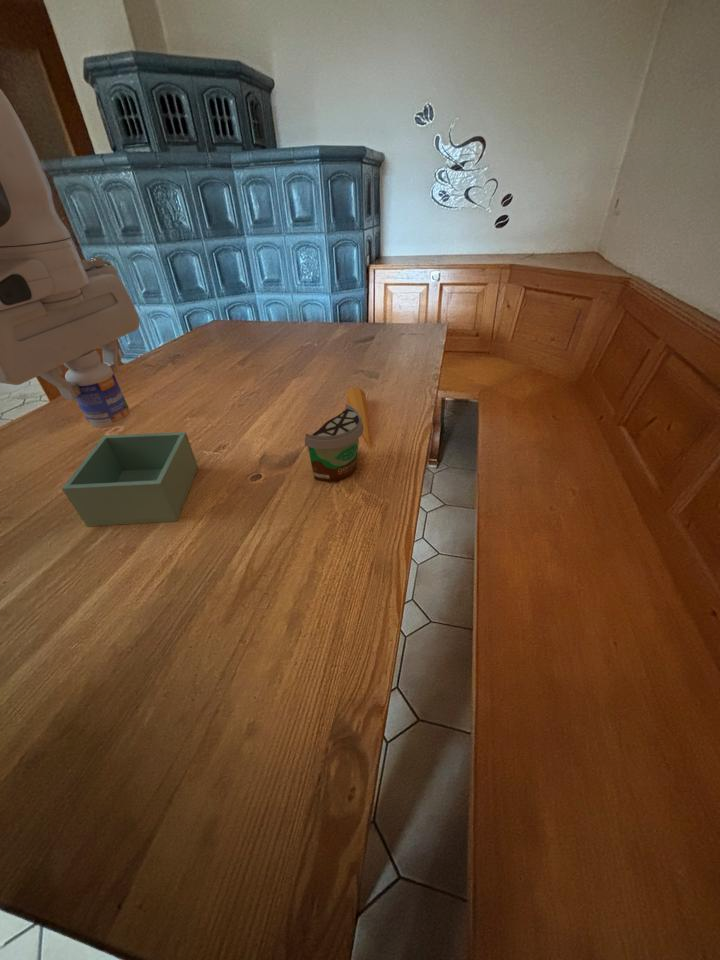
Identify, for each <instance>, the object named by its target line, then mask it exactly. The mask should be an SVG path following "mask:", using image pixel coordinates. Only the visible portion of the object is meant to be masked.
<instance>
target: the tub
mask: <svg viewBox="0 0 720 960" xmlns="http://www.w3.org/2000/svg"><path fill="white" fill-rule="evenodd" d="M192 448H193V447H192V445H191V443H190V439H189V437H188V434H187V431H180V432H179V431H178V432H177V431H175V432H157V433H156V432H155V433H130V434H111V435H110V434H109V435H103V436H102V437H101V438H100V439H99V440H98V441H97V443H96V444H95V445H94V447H93V448H92V449H91V450H90V452H89V453H88V455H87V456H86V457H85V458H84V460H83V461H82V462H81V463H80V465H79V466H78V467H77V468H76V470H75V471H74V472H73V473H72V475H70V477H69V478H68V480H67V481H66V482H65V484H64V485H63V486H62V487H61V490H62V492H63V493H64V494H65V496H66V498H67V499H68V500H69V502H70V504H71V505H72V506H73V508H74V510H75V511H76V512H77V514H78V516H79V517H80V519H81V520H82V522H83V523H84V524H85V526H86V527H100V526H101V527H103V526H119V525H120V526H121V525H136V524H139V525H140V524H155V523H156V524H157V523H172V522H173V523H175V522H178V521H179V518H180V515H181V512H182V511H183V508H184V505H185V503H186V500H187V497H188V495H189V492H190V490H191V487H192V485H193V482H194V479H195V477H196V475H197V473H198V470H199V465H198V463H197V460H196V456H195V454H194V451H193V449H192Z"/></svg>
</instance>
